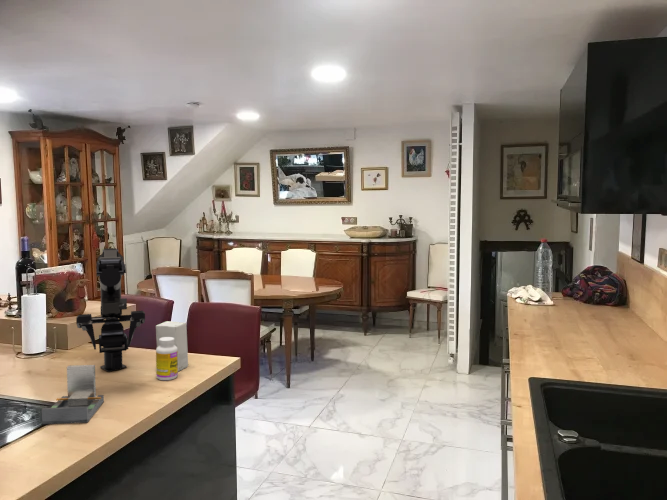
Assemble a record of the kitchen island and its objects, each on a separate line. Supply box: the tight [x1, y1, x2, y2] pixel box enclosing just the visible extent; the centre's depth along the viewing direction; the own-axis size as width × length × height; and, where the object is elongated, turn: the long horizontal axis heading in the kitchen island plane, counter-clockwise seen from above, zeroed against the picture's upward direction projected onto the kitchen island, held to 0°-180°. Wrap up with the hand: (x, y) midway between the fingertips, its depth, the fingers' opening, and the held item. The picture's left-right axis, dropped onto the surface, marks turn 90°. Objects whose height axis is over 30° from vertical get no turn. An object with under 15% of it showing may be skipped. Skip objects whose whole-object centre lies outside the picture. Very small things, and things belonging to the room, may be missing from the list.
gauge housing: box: [41, 394, 105, 425], centre depth 142 cm, size 14×11×4 cm
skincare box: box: [155, 320, 189, 372], centre depth 179 cm, size 8×7×16 cm
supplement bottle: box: [155, 337, 179, 381], centre depth 170 cm, size 7×7×13 cm
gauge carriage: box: [55, 364, 101, 406], centre depth 146 cm, size 4×12×10 cm, turn 97°
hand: (112, 347), depth 155 cm, fingers open, 9 cm apart
